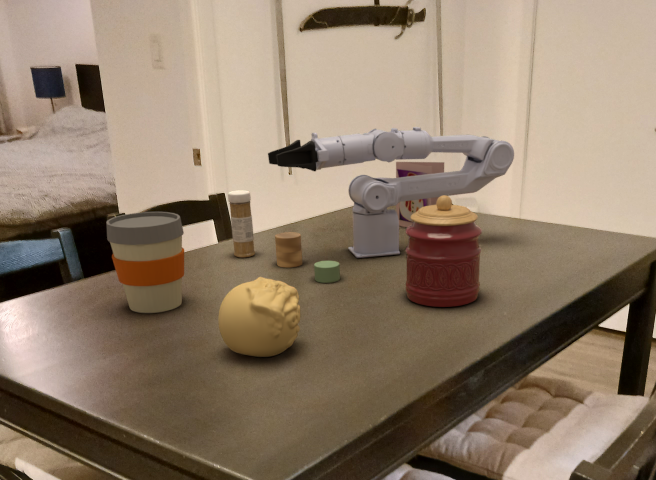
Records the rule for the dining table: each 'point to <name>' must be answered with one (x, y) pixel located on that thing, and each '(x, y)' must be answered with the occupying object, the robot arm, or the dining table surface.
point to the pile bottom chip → (289, 259)
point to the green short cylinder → (327, 271)
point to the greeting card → (412, 206)
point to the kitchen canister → (443, 255)
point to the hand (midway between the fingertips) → (272, 159)
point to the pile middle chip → (288, 242)
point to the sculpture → (260, 317)
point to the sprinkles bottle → (241, 223)
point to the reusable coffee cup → (148, 259)
